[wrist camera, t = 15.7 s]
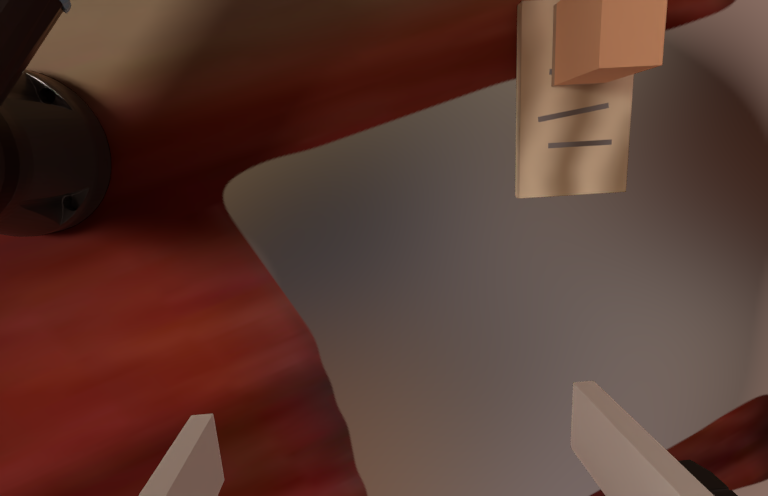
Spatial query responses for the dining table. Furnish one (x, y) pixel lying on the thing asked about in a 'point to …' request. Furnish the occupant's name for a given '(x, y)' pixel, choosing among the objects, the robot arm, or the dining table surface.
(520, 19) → the board
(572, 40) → the block
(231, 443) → the dining table surface
